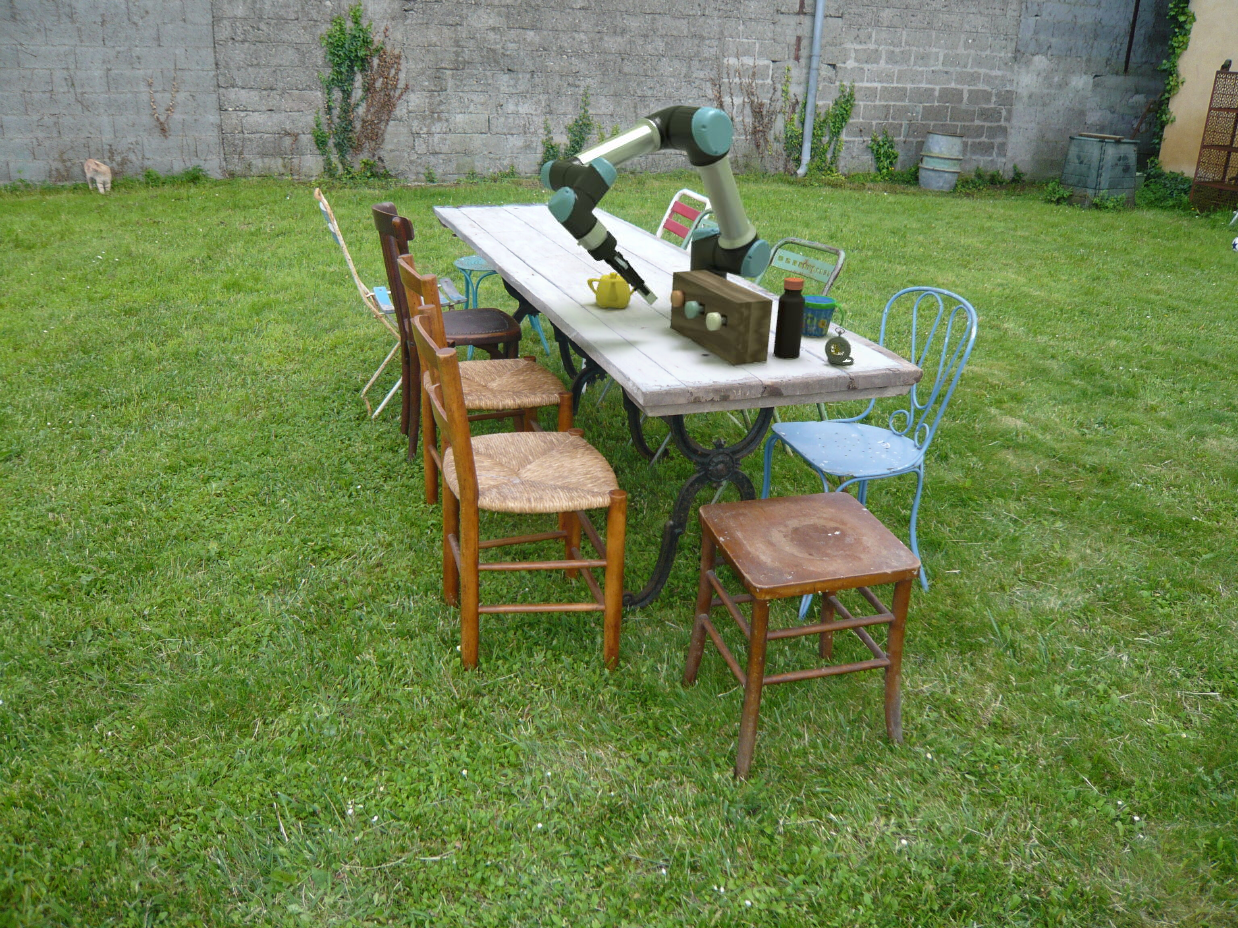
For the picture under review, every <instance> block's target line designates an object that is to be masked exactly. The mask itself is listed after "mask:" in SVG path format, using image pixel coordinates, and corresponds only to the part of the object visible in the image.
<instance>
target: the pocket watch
mask: <svg viewBox="0 0 1238 928" xmlns="http://www.w3.org/2000/svg"><path fill="white" fill-rule="evenodd" d="M838 329H841V330H839V331H838ZM834 330H835V332H836V333H837V334H838V335H836V336H832V337H830V338H829V339H828V340H827V342H826V343H825V345H824V353H825V355H826V357H827V360H828V361H829V363H833V364H834V363H836V364H835V365H841V364H847V365H851V364H853V363H854V360H855V358H854V357H852V356H851V352H852V346H851V344H850V342H849V340H848V339H846V338H845V337H843V336H842V335H843V334H845V333H846V330H845V328H843V327H840V326H839V327H836V328H834ZM842 330H843V332H842ZM846 359H847V360H851V361H850V362H843V361H845V360H846Z"/></svg>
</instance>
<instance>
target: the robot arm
mask: <svg viewBox="0 0 1238 928" xmlns="http://www.w3.org/2000/svg"><path fill="white" fill-rule="evenodd" d="M734 130H735V129H734V126H733V122H732V120H731V118H730V116H729V115H728V114H727V113H726V112H725V111H724V110H722V109H719V108H714V107H713V106H703V107H701V106H700V107H699V106H691V105H681V104H680V105H679V104H678V105H672V106H669V107H665V108H662V109H659V110H658V111H655V112H653V113H651V114H649V115H647V116H646V115H645V116H644V117H642V118H640V119H639V120H638V121H637V122H636V123H635V125H634V126H633V127H630V128H628V129H626V130H624V131H622V132H620V133H617V134H616V135H614V136H611V137H609V138H607V139H605V140H604V141H601V142H599V143H597V144H595V145H593V146H591V147H588V148H587V149H585V150H582V151H581V152H578V153H577V154H574V155H572V156H570V157H567V158H565V159H564V160H561V161H559V160H549V161H547V162H545V163H544V164H543V166H542V167H541V171H540V181H541V183H542V185H543V187H544V188H545V189H547V190H549V191H552V192H554V193H553V195H552V196H550V199H549V200H548V202H547V203H548V204H547V209H548V211H549V212H550V213H551V215H552V216H553V218H554V219H555V220H556V221H557V222H558V223H559V224H560V225H561V226H562V227H563V228H564V229H565V230H566V231H567V232H568V233H569V234H570V235H571V236H572V237H573V238H574V239H575V241H577V243H576V245H577V247H581V246H582V248H583V249H584V250H586V252H587V254H588V255H590V257H591V258H593V260H595V261H596V262H601V261H604V262H605V263H606V264H607V265H608V266H610V267H611V268H612V269H613V270H614V272H616V273H618V275H620V276H621V277H622V278H623V279H624V280H625V281H626V282H627V283H628V284H629V286H630V287H632V289H633V287H635V288H634V289H633V290H634V291H635V292H637V293H638V294H639V295H640V296H641V298H642V299H644V301H645V302H646V303H647V304H648V305H650V306H653V305H654V303H655V302H656V301H657V300H658V299H659V298H658V297H657V295H656V294H655V293H654V292H653V290H652V289H650V288H649V287H648V285H647V284H646V282H645V280H644V279H643V278H642V277H641V276H640V275H639V274H638V272H637V271H636V270H635V268H634V267H633V266H632V265H631V264H630V262H629V260H628V259H625V258H624V255H623V254H622V253H621V252H620V251H617V250H616V247H617V245H618V240H617V238H616V237H615V236H614V235H613V233H611V232H610V231H609V230H608V228H607V227H606V226H605V225H604V223H602V221H600V219H599V218H597V216H596V215H595V214H594V213H593V211H594V209H595V208H596V207H597V205H598V204H599V203H600V202H601V200H602V199H603V197H604V196H606V194H607V193H608V191H609V190H610V189H611V188H612V186H613V184H614V182H616V179H617V177H618V173H617V170H616V168H618V167H620V166H622V165H624V164H626V163H629V162H631V161H633V160H634V159H636V158H638V157H641V156H642V155H644V154H646V153H647V154H655V153H657V152H659V151H662V150H672V151H673V150H676V151H681V152H686V155H687V158H688V161H689V164H690V165H691V166H692V167H694V168H697V169H698V173H699V175H700V176H699V177H700V178H701V181H702V184H703V187H704V190H705V192H706V195H707V199H708V201H709V203H710V206H711V210H712V212H713V217H714V218H715V220H716V223H717V224H716V226H705V227H697V228H694V230H693V232H692V235H691V241H690V243H691V245H690V262H689V263H690V265H689V266H690V267H689V268H690V269H689V271H697V270H706V271H708V272H711V273H713V274H715V275H717V276H720V277H722V278H724V279H726V280H728V274H731V275H733V276H737V277H741V278H750V279H756V278H758V277H759V276H761V275H762V274H763V273H764V272H765V270H766V269H767V267H768V265H769V262H770V259H771V254H772V250H771V245H770V243H769V242H768V241H767V240H765V239H763V238H761V239H760V238H759V234H758V232H757V228H756V227H755V225H753V224H751V223H749V220H748V217H747V214H746V212H745V208H744V205H743V201H742V199H741V195H740V193H739V189H738V186H737V183H736V180H735V178H734V174H733V173H734V172H733V171H732V168H731V163H730V162H729V158H728V155H729V154H730V152H731V146H732V144H733V142H734V141H733V140H734V138H733V135H734V133H735V132H734ZM635 292H634V293H635Z"/></svg>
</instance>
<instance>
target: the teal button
mask: <svg viewBox="0 0 1238 928" xmlns="http://www.w3.org/2000/svg"><path fill="white" fill-rule="evenodd" d="M699 312H705V306H698V303H697V302H696V301H690V302H686V304H685V315H686V317H687V318H688V319H690V318H697V317H698V315H699Z"/></svg>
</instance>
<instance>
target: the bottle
mask: <svg viewBox="0 0 1238 928" xmlns="http://www.w3.org/2000/svg"><path fill="white" fill-rule="evenodd" d="M804 285H805V280H804V279H803V278H800V277H794V276H793V277H785V278H784V280H783V290H784V293H782V294H781V295H780V296H779V297H778V303H777V304H778V305H777V315H776V324H775V334H774V345H773V355H774V356H775V357H777V358H780V359H786V358H793V359H796V358H799V357H800V352H801V343H802V335H803V334H802V327H803V318H804V309H805V298H804V297H803V294H802V292H803V291H804V290H803V289H804Z"/></svg>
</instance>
